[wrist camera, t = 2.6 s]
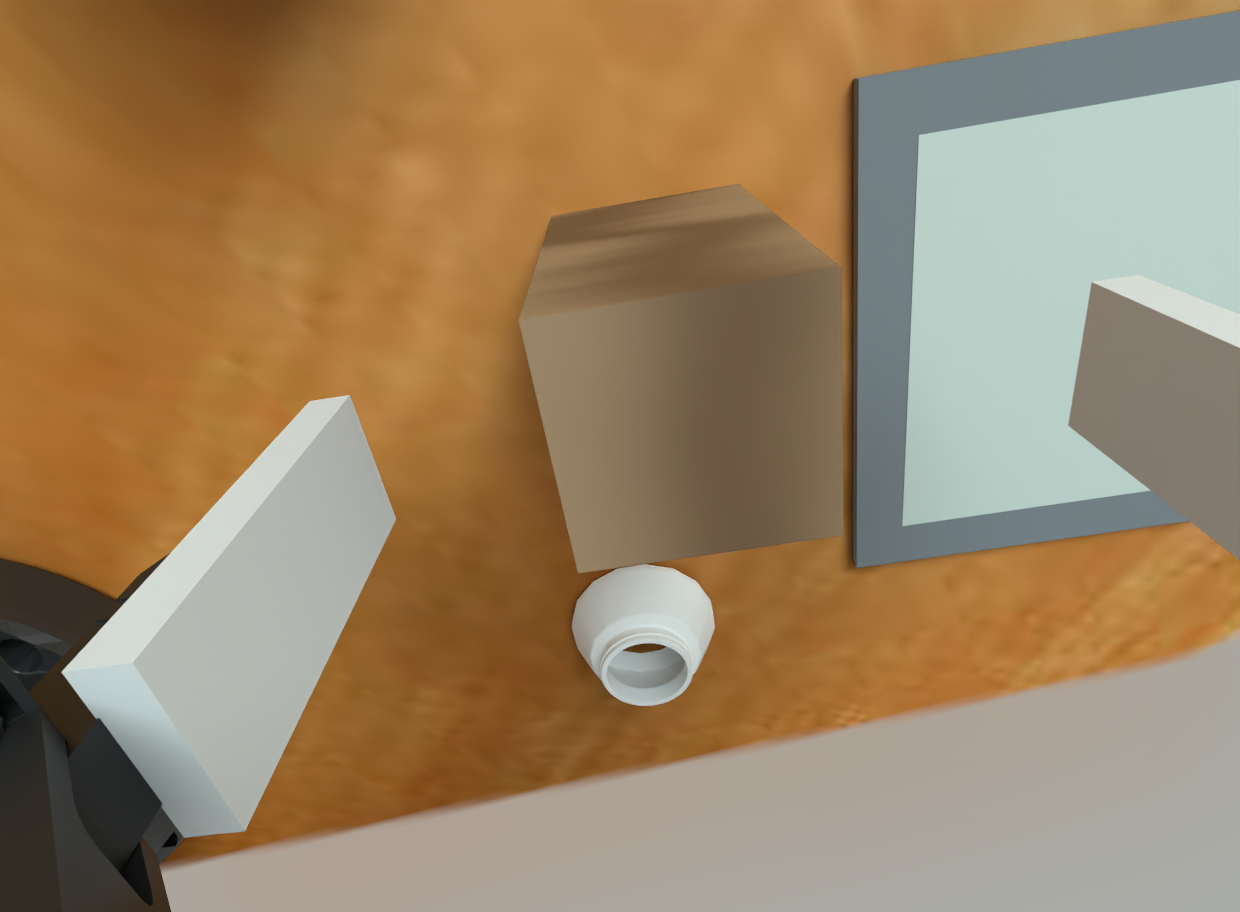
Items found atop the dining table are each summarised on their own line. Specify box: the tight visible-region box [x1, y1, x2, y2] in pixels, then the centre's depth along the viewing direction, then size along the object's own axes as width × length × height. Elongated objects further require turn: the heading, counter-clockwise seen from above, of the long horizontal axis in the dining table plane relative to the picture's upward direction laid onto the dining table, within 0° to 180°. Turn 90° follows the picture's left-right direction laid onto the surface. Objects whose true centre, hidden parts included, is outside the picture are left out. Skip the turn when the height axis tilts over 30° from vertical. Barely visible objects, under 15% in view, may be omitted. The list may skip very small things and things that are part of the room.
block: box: [518, 184, 843, 573], centre depth 16 cm, size 5×5×9 cm
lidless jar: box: [572, 564, 715, 706], centre depth 24 cm, size 5×3×5 cm
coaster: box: [853, 10, 1240, 568], centre depth 20 cm, size 15×15×1 cm
